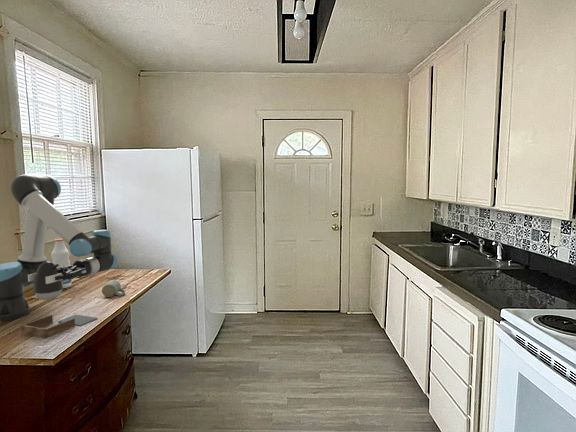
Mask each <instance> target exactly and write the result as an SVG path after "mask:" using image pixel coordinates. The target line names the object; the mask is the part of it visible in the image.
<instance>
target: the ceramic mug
mask: <svg viewBox="0 0 576 432" xmlns="http://www.w3.org/2000/svg"><path fill="white" fill-rule="evenodd" d="M121 287H122V286H121V283H120V282H119V281H118V280H116V279H110V280H108V281H107V282H106V283H105V284H104V285H103V287H102V288H101V293H102V295H103V296H104V297H107V298H112V297H114V296H115V295H116V296H124V295H125V294H126V290H124V289H123V288H121Z"/></svg>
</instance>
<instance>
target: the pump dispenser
mask: <svg viewBox="0 0 576 432" xmlns="http://www.w3.org/2000/svg"><path fill="white" fill-rule="evenodd" d="M58 266H59V265H58V264H56V265H54V264H53V263H52V261H47V262H44V263H42V264H41V265H40V266H39V268H38V270H37V273H36V276H35V280H34V285H33V287H32V289H33V290H32V291H33V293H34V295H35V297H36V298H37V299H39V300H40V301H50V300H51V301H52V300H55V299H57V298H58V297H60V295H61V294H62V292H63V289H64V288H63V283H62V280H60V281H56V282H52V283H49V284H46V278H45V277H47V276H51V275H55V274H59V271H58V269H57V267H58Z"/></svg>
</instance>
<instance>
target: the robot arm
mask: <svg viewBox="0 0 576 432" xmlns="http://www.w3.org/2000/svg"><path fill="white" fill-rule="evenodd" d="M9 190H10V193H11V195H12V198H13V199H14V200H15V201H16V202H17V203H18V204H19V205H20V206H21V207H23V208H24V209H25V208H27V212H26V220H25V226H24V227H25V228H24V237H23V244H22V245H23V246H22V251H21V252H22V253H21V254H20V255H19V256H18V257H17V261H9V262H5V263H0V322H5V321H6V320H7V321H12V320H16V319H20V318H23V317H25V316H27V315H29V314H30V306H29V303H28V302H27V300H26V298H25V294H24V293H25V292H24V288H27V287H28V288H29V287H31V286H34V280H35V276H36V273H37V270H38V268H39V266H40V265H41V264H42V263H44V262H48V261H47V256H45V253H44V251H45V245H46V237H47V230H48V229H47V228H48V227H49V228H50V229H51V230H52V231H53V232H54V233H55V234H56V235H58V236H59V237H60V239H63V240H64V242H65V243H66V244H68V245H69V252H70V254H71V255H73V256H74V257H76V258H81V257H85V256H86V257H87V256H89V255H90V254H93V256H91V257H87V258H84V259H83V258H82V259H79V260H76V261H74V262H73V264H72V265H71V264H70V266H67V267H65V266H61V267H57V269H58V271H59V274H55V275H51V276H47V277H45V278H46V284H49V283H52V282H56V281H60V280H62V279H63V280H66V279H68V280H70V279H71V280H72V279H75V278H83V277H86V276H93V274H97V273H100V272H105V271H109V270H111V269H113V268H115V267H116V266H117V263H118V258H117V256H116V254H114V253H112V242H111V241H112V240H111V239H112V237H111V231H110V230H109V229H97V230H96V229H95V230H93V231H92V235H91V236H88V235H87V234H86V233H84V232H83V231H82V230H81V229H80V228H78V227H77V226H76V225H75V224H74V223H73V222H72V221H71V220H70V219H69V218H67V217H66V215H64V214H63V213H62V212H61V211H60V210H59V209H58V208H56V207H55V206H54V204H55V199H56V198H57V197H59V196H60V195H61V192H62V191H61V190H62V187H61V184H60V182H59V181H58V179H57V178H55V177H54V176H52V175H48V174H28V173H26V174H21V175H19V176H18V175H17V176H16V177H15V178H14V179H12V181H11V183H10V187H9ZM57 199H58V198H57ZM7 321H6V322H7Z"/></svg>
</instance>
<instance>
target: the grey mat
mask: <svg viewBox="0 0 576 432" xmlns="http://www.w3.org/2000/svg"><path fill="white" fill-rule="evenodd" d="M73 318H75V327H76V326H77V327H83V326H84V325H86V324H89V323H92V322H93V321H96V320H98V317H97V316H96V317H94V316H89V315H81V314H73V315H70V316H68V317H65V318H63V319H60V320H58V321H57V324H60V323H62V322H65V321H67V320H70V319H73Z"/></svg>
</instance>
